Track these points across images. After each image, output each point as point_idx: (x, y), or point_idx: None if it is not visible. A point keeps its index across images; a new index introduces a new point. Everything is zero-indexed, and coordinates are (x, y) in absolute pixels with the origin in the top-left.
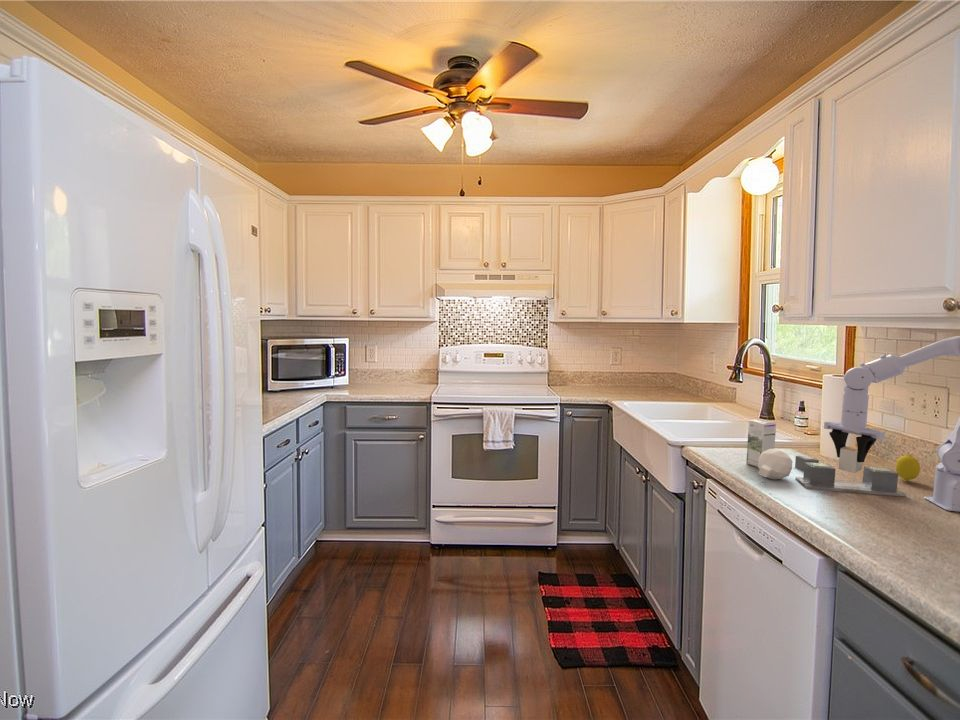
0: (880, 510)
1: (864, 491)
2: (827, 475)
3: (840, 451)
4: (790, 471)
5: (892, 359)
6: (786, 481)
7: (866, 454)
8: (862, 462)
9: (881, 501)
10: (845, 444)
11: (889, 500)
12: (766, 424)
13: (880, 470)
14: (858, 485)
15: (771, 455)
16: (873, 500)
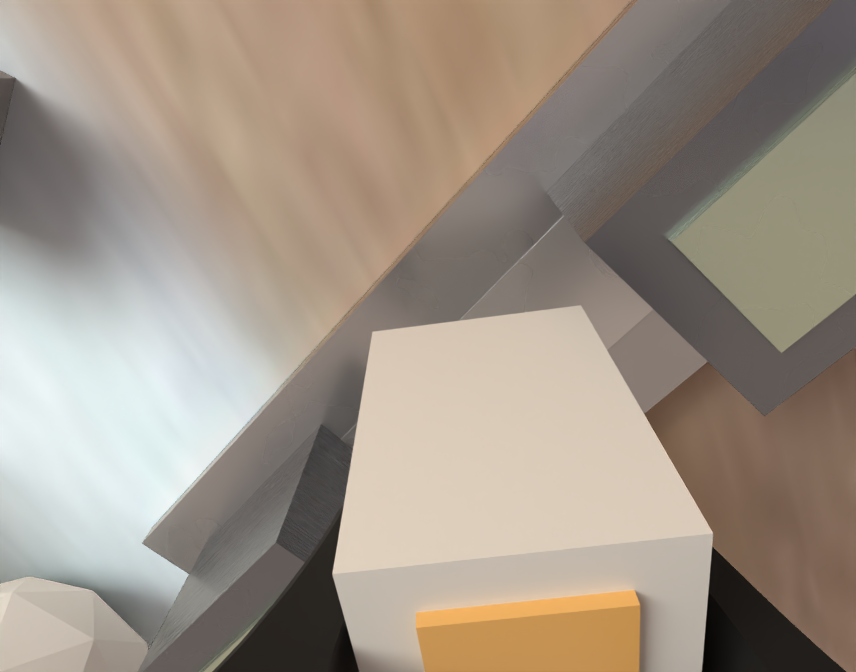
0: (843, 666)
1: (647, 406)
2: None
3: None
4: (133, 668)
5: None
6: (165, 613)
7: (784, 626)
8: (608, 357)
9: (802, 482)
10: (329, 662)
11: (845, 400)
12: None
13: (841, 304)
14: (552, 303)
15: None
16: (751, 509)
